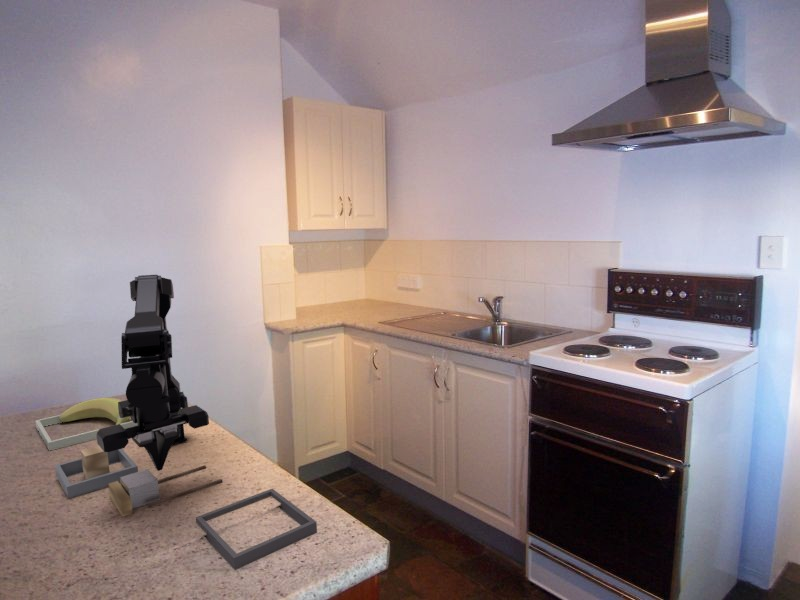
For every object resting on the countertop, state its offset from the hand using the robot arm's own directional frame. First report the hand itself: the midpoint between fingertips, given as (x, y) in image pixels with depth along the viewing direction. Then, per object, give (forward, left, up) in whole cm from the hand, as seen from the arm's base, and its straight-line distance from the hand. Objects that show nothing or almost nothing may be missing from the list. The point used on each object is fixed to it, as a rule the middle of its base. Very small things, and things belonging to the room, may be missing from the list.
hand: (159, 469), depth 106 cm
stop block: (+8, -16, -5) cm, 19 cm away
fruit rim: (0, -51, -6) cm, 51 cm away
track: (0, 0, -6) cm, 6 cm away
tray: (+8, -16, -6) cm, 19 cm away
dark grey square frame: (-8, +23, -6) cm, 25 cm away
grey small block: (+4, 0, -4) cm, 6 cm away
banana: (0, -51, -6) cm, 51 cm away
